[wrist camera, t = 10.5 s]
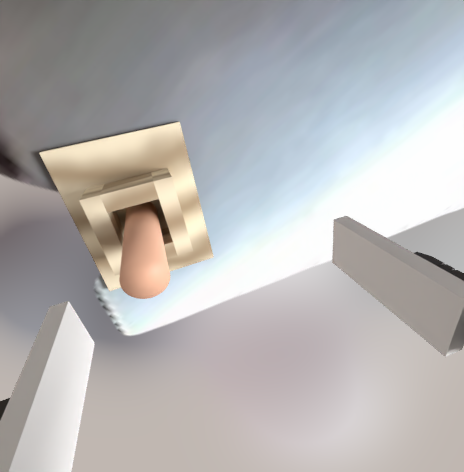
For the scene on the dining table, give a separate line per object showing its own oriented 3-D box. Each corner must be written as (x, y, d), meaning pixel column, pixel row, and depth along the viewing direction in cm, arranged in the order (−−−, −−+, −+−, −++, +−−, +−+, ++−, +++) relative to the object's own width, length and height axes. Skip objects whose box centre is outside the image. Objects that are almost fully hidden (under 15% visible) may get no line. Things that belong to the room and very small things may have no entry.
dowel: (121, 204, 35) (111, 266, 21) (151, 195, 35) (162, 250, 22) (132, 231, 37) (129, 305, 23) (161, 222, 37) (175, 289, 24)
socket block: (41, 151, 31) (22, 160, 25) (178, 121, 34) (186, 123, 28) (110, 287, 40) (106, 313, 35) (211, 254, 43) (222, 274, 38)
